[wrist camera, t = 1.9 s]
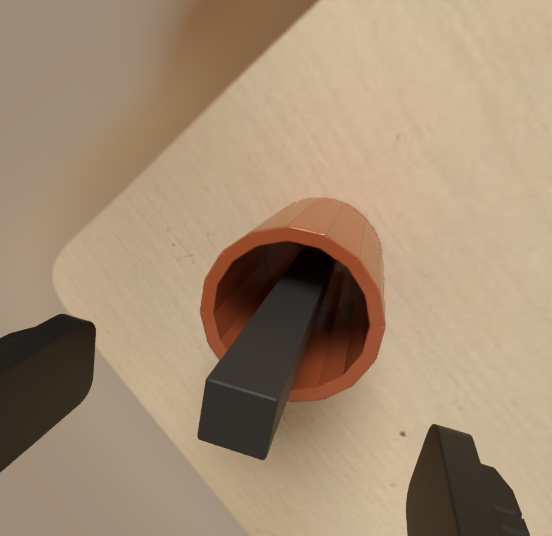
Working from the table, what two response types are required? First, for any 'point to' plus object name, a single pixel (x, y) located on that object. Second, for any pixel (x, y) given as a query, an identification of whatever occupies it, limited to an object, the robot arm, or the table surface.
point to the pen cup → (337, 301)
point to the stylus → (265, 360)
